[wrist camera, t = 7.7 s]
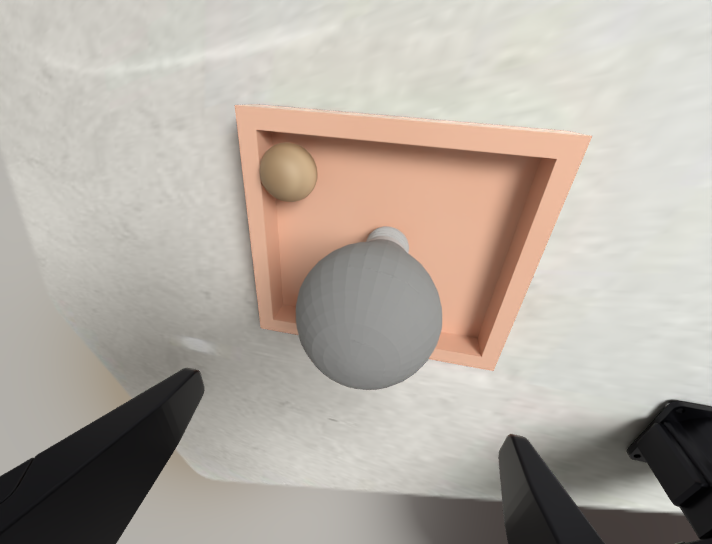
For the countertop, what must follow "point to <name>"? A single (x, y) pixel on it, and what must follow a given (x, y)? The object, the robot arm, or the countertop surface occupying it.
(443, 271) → the dish
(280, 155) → the cork ball
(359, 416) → the countertop surface
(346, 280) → the light bulb
